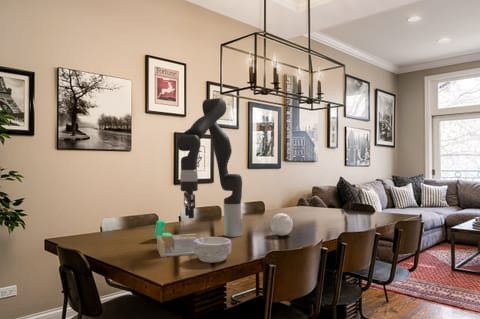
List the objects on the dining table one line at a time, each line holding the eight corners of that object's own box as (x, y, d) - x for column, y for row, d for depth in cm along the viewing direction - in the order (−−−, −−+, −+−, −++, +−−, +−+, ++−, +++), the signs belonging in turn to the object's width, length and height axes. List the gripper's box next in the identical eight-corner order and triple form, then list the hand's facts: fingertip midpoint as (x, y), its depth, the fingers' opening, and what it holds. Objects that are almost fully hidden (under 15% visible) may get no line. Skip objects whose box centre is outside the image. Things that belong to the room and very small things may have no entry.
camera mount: (175, 241, 186) (175, 221, 186) (159, 243, 183) (159, 222, 183) (169, 237, 197) (169, 218, 197) (154, 239, 194) (154, 219, 194)
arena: (196, 246, 175) (196, 233, 175) (203, 253, 160) (203, 240, 160) (157, 248, 169) (157, 236, 169) (160, 257, 154) (160, 243, 154)
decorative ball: (277, 238, 192) (277, 215, 193) (266, 234, 203) (266, 212, 204) (297, 236, 197) (297, 214, 198) (285, 232, 208) (285, 211, 209)
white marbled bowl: (232, 264, 142) (232, 243, 143) (192, 265, 141) (192, 244, 141) (230, 254, 158) (230, 236, 158) (194, 255, 156) (194, 236, 156)
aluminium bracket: (194, 245, 171) (194, 234, 171) (197, 249, 163) (197, 238, 163) (172, 247, 168) (172, 236, 168) (174, 251, 160) (174, 239, 160)
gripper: (200, 180, 158) (201, 218, 158) (194, 179, 172) (194, 214, 172) (183, 181, 156) (183, 219, 156) (178, 179, 170) (178, 215, 170)
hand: (189, 216), depth 164 cm, fingers open, 8 cm apart
